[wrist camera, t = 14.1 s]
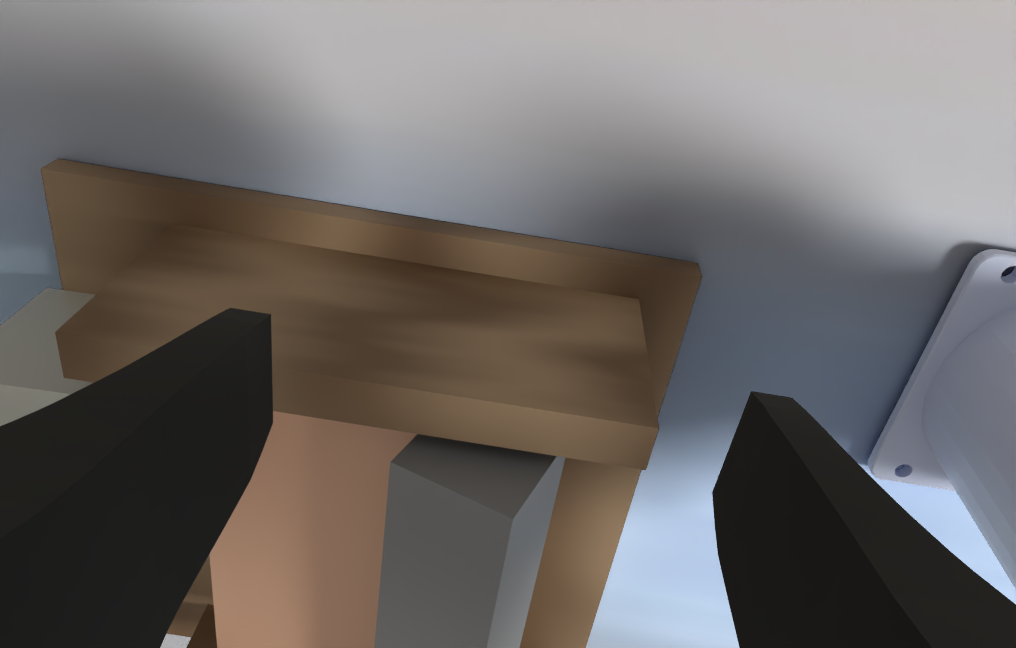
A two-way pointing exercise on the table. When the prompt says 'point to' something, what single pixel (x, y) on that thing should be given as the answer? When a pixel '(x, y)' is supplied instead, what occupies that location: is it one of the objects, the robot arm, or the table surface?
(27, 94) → the table surface
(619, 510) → the frame
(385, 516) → the trapdoor
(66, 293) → the pale sage cube
